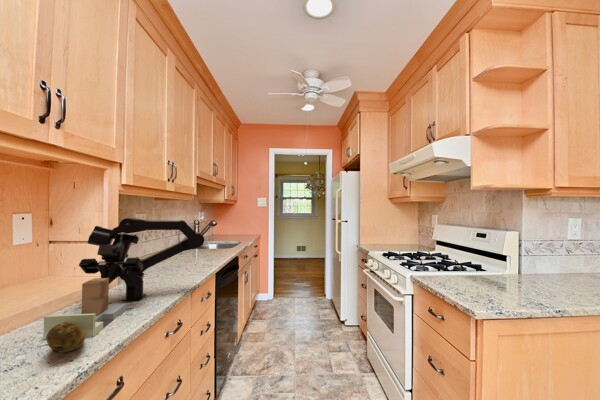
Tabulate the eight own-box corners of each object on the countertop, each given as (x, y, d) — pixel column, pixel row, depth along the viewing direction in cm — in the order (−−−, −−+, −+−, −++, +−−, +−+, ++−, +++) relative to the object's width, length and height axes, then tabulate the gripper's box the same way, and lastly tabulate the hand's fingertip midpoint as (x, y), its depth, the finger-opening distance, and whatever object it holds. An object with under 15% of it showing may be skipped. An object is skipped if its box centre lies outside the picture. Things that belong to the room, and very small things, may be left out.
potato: (98, 336, 76) (98, 307, 76) (74, 362, 63) (75, 327, 63) (61, 340, 73) (62, 310, 73) (29, 368, 61) (30, 332, 61)
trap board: (88, 310, 93) (88, 292, 93) (126, 309, 95) (127, 291, 95) (43, 339, 74) (43, 317, 74) (93, 336, 75) (93, 314, 75)
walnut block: (93, 309, 89) (93, 278, 90) (108, 308, 90) (108, 278, 90) (81, 316, 84) (82, 283, 84) (97, 316, 84) (98, 283, 84)
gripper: (82, 235, 95) (58, 276, 84) (140, 234, 98) (124, 274, 87) (95, 254, 103) (75, 293, 92) (149, 253, 106) (135, 291, 95)
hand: (102, 287), depth 91 cm, fingers closed
